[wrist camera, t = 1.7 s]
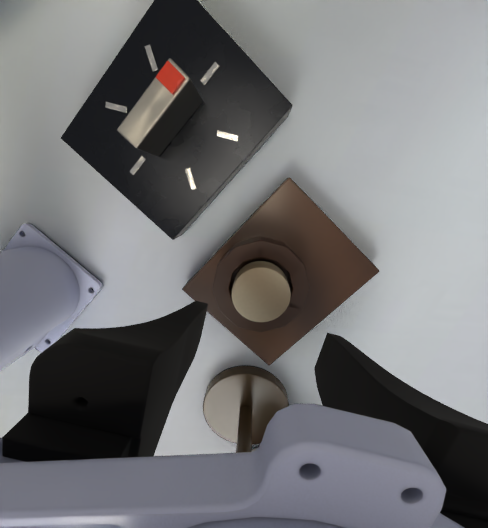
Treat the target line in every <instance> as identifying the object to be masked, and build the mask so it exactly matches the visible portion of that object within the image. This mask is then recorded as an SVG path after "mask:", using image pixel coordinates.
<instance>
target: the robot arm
mask: <svg viewBox="0 0 488 528" xmlns="http://www.w3.org/2000/svg"><path fill="white" fill-rule="evenodd" d="M23 232H25V234H26V235H24V233H23ZM91 288H93V289H94V292H93V291H92V290H91ZM101 289H102V283H101V282H100V281H99V280H98V279H97V278H95V277H94V276H93V275H92V274H91V273H89V272H88V271H87V270H86V269H85V268H83V267H82V266H81V265H80V264H79V263H77V262H76V261H75V260H74V259H73V258H71V257H70V256H69V255H68V254H67V253H65V252H64V251H63V250H62V249H61V248H59V247H58V246H57V245H56V244H55V243H53V242H52V241H51V240H50V239H49V238H47V237H46V236H45V235H44V234H43V233H41V232H40V231H39V230H38V229H37V228H35V227H34V226H33V225H32V224H29V223H25V224H22V225H21V226H20V227H19V229H18V230H17V232H16V233H15V235H14V236H13V237H12V239H11V240H10V242H9V243H8V244H7V246H6V247H5V249H4V250H3V251H2V252H0V371H2V370H3V369H4V368H6V367H7V366H9V365H10V364H12V363H13V362H15V361H16V360H17V359H19V358H20V357H22V356H23V355H25V354H26V353H28V352H29V351H30V350H32V349H33V348H35V349H37V350H38V351H39V352H41V354H40V355H38V356H37V357H36V359H35V361H34V362H33V364H32V366H31V371H30V376H29V407H28V412H29V413H27V414H26V415H25V416H24V417H23V418H22V419H21V420H20V421H19V422H18V423H17V424H16V425H15V426H14V427H13V428H12V429H11V430H10V431H9V432H8V433H7V434H6V435H5V436H4V437H2V438H0V528H488V424H486V423H484V422H481V421H479V420H476V419H474V418H472V417H469V416H467V415H465V414H463V413H461V412H458V411H456V410H454V409H452V408H450V407H448V406H446V405H444V404H442V403H440V402H438V401H436V400H434V399H432V398H430V397H429V396H427V395H425V394H423V393H421V392H419V391H418V390H416V389H414V388H413V387H411V386H409V385H408V384H406V383H404V382H403V381H401V380H400V379H398V378H397V377H395V376H394V375H392V374H391V373H389V372H388V371H386V370H385V369H384V368H382V367H381V366H379V365H378V364H377V363H375V362H374V361H373V360H372V359H370V358H369V357H368V356H366V355H365V354H364V353H363V352H361V351H360V350H359V349H357V348H356V347H355V346H354V345H352V344H351V343H350V342H348V341H347V340H345V339H344V338H342V337H341V336H338V335H334V334H330V333H327V335H326V338H325V341H324V344H323V346H322V349H321V352H320V354H319V357H318V360H317V363H316V365H315V376H316V382H317V388H318V391H319V395H320V398H321V401H322V405H323V406H321V405H317V404H292V405H290V406H288V407H286V408H283V409H281V410H279V411H277V412H276V413H275V415H274V416H273V418H272V419H271V420H270V422H269V423H268V425H267V427H266V430H265V433H264V436H263V439H262V442H261V444H260V446H259V447H258V449H257V450H255V451H252V452H243V453H220V454H197V455H174V456H154V453H155V450H156V447H157V444H158V442H159V439H160V436H161V433H162V430H163V428H164V425H165V422H166V419H167V417H168V414H169V411H170V408H171V406H172V403H173V401H174V398H175V396H176V394H177V392H178V390H179V388H180V386H181V384H182V382H183V380H184V378H185V376H186V373H187V371H188V369H189V367H190V365H191V363H192V361H193V359H194V357H195V354H196V351H197V348H198V345H199V342H200V338H201V334H202V329H203V325H204V320H205V316H206V311H207V307H208V304H207V303H203V302H199V301H195V302H193V303H191V304H189V305H187V306H185V307H184V308H182V309H180V310H178V311H176V312H173V313H171V314H169V315H166V316H164V317H162V318H159V319H156V320H153V321H149V322H146V323H141V324H136V325H131V326H125V327H116V328H101V329H80V328H75V329H73V330H72V331H70V332H69V333H67V334H66V335H64V336H63V337H62V338H60V337H61V336H62V335H63V333H64V332H65V331H66V330H67V329H68V328H69V326H70V325H71V324H72V323H73V322H74V321H75V319H76V318H77V317H78V316H79V315H80V314H81V312H82V311H83V310H84V309H85V308H86V307H87V305H88V304H89V303H90V302H91V301H92V300H93V298H94V297H95V296H96V295H97V294H98V293H99V291H100V290H101ZM59 338H60V339H59ZM48 339H49V340H50V341H51V342H50V341H49V340H48ZM58 339H59V340H58ZM57 340H58V341H57Z"/></svg>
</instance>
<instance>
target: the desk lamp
mask: <svg viewBox="0 0 488 528" xmlns="http://www.w3.org/2000/svg"><path fill="white" fill-rule="evenodd" d="M288 406H289V402H288V396H287V393H286V390H285V388H284V386H283V384H282V383H281V382H280V381H279V380H278V379H277V378H276V377H275V376H274V375H273V374H271V373H270V372H268V371H266V370H264V369H261V368H258V367H253V366H237V367H233V368H229V369H227V370H224V371H223V372H221V373H220V374H218V375H217V376H216V377H215V378H214V379H213V380H212V381H211V383H210V384H209V386H208V388H207V391H206V394H205V398H204V403H203V411H204V416H205V419H206V421H207V423H208V425H209V426H210V428H211V429H212V430H213V431H214V432H215V433H216V434H217V435H219V436H220V437H221V438H223V439H225V440H227V441H230V442H233V443H236V444H237V447H236V453H243V452H252V445H254V444H259V443H261V442H262V439H263V436H264V433H265V430H266V427H267V425H268V423H269V422H270V420H271V419H272V418H273V416H274V415H275V413H276V412H277V411H279V410H281V409H283V408H286V407H288Z"/></svg>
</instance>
